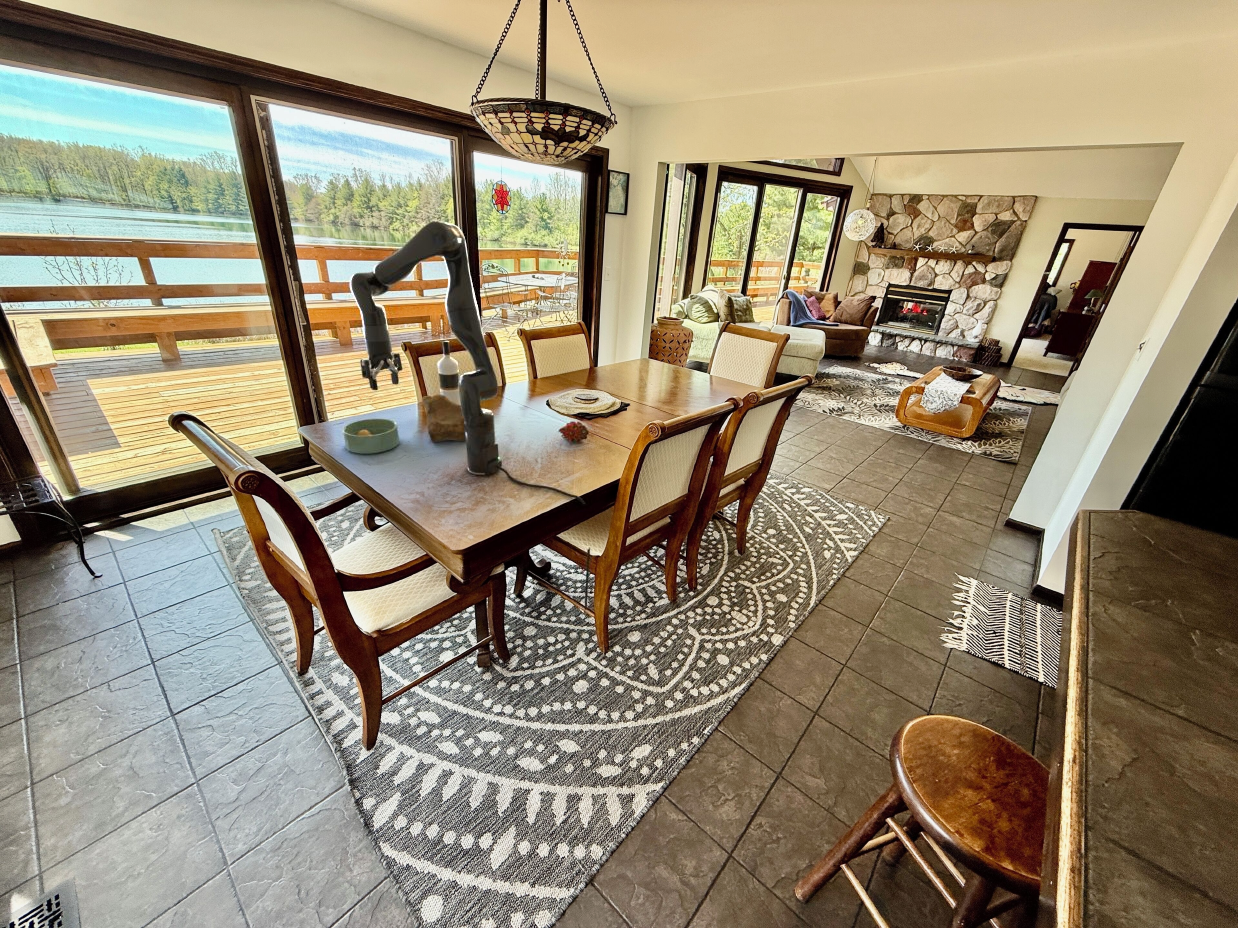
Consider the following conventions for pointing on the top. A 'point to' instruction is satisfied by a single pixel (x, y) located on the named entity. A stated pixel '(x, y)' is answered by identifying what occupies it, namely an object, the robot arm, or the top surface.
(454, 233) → the robot arm
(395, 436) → the green pet bowl
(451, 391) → the vodka
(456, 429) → the rough brown rock
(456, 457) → the top surface
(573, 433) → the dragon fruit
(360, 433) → the drumstick
